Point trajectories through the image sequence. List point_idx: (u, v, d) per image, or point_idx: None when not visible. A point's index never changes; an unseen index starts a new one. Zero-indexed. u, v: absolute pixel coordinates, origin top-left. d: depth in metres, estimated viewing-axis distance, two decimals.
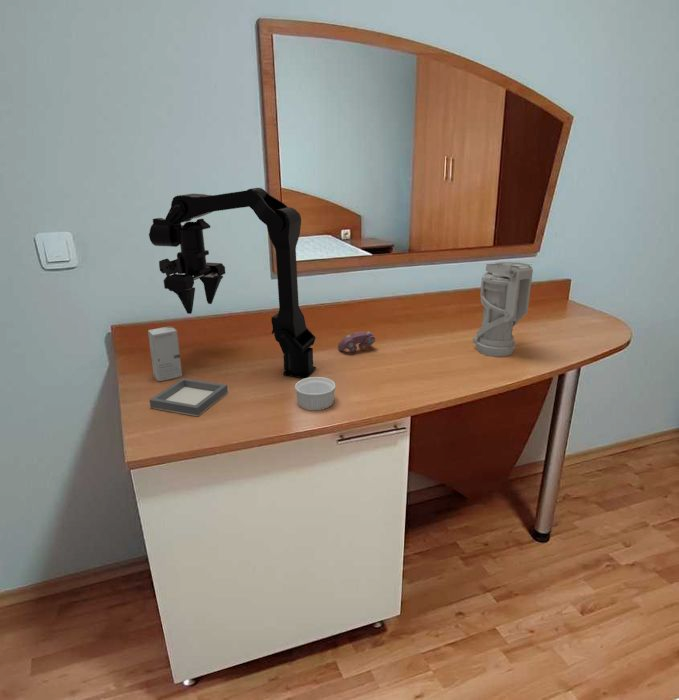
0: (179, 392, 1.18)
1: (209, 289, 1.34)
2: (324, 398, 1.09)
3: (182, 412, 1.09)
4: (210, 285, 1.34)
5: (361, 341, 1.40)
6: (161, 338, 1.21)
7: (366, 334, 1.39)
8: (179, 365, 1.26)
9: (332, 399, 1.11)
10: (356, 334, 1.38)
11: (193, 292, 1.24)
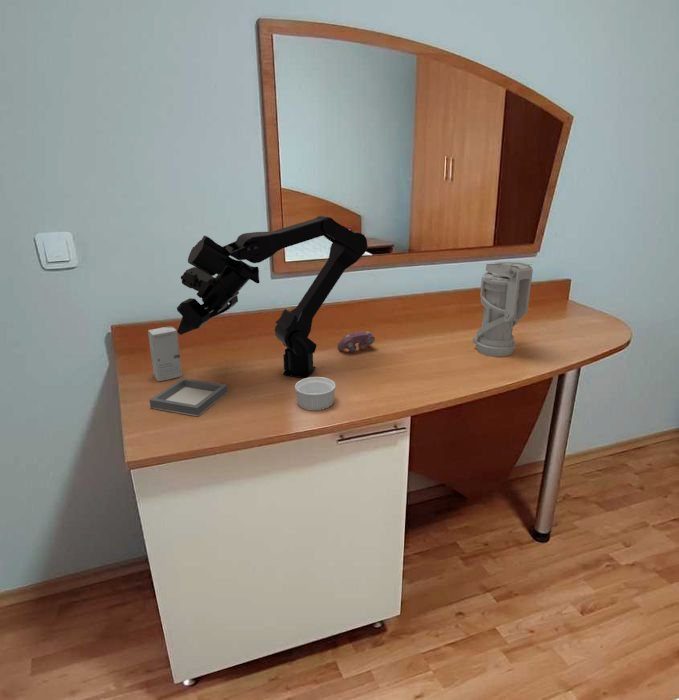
0: (179, 392, 1.18)
1: (209, 311, 1.23)
2: (324, 398, 1.09)
3: (182, 412, 1.09)
4: (213, 309, 1.23)
5: (361, 341, 1.40)
6: (161, 338, 1.21)
7: (365, 334, 1.40)
8: (179, 365, 1.26)
9: (332, 399, 1.11)
10: (356, 334, 1.39)
11: None
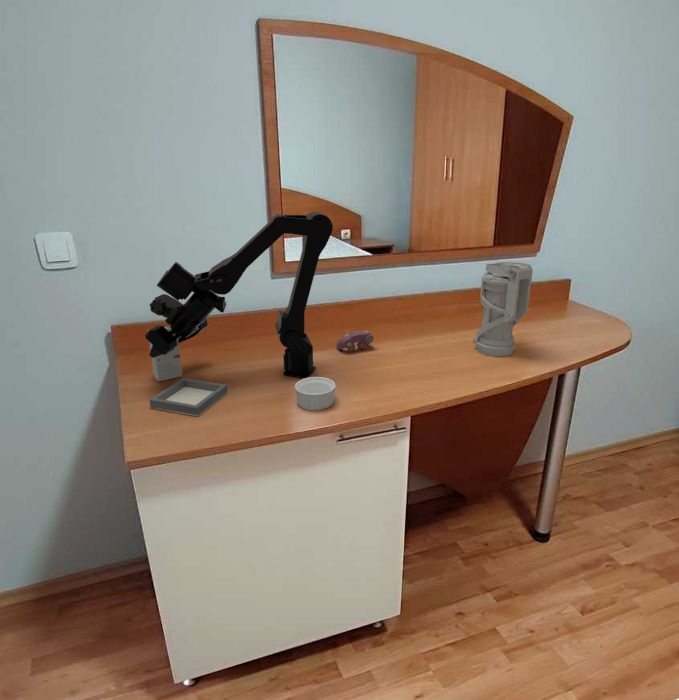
0: (179, 392, 1.18)
1: None
2: (324, 398, 1.09)
3: (182, 412, 1.09)
4: None
5: (360, 340, 1.41)
6: None
7: (364, 333, 1.40)
8: (179, 365, 1.26)
9: (332, 399, 1.11)
10: (354, 333, 1.39)
11: None
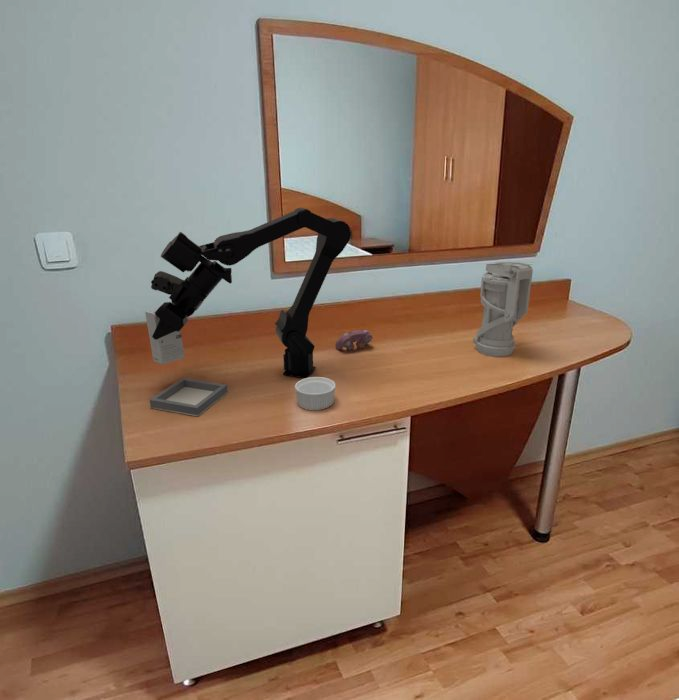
0: (179, 392, 1.18)
1: None
2: (324, 398, 1.09)
3: (182, 412, 1.09)
4: None
5: (359, 339, 1.42)
6: None
7: (363, 332, 1.41)
8: (181, 345, 1.20)
9: (332, 399, 1.11)
10: (353, 332, 1.40)
11: None
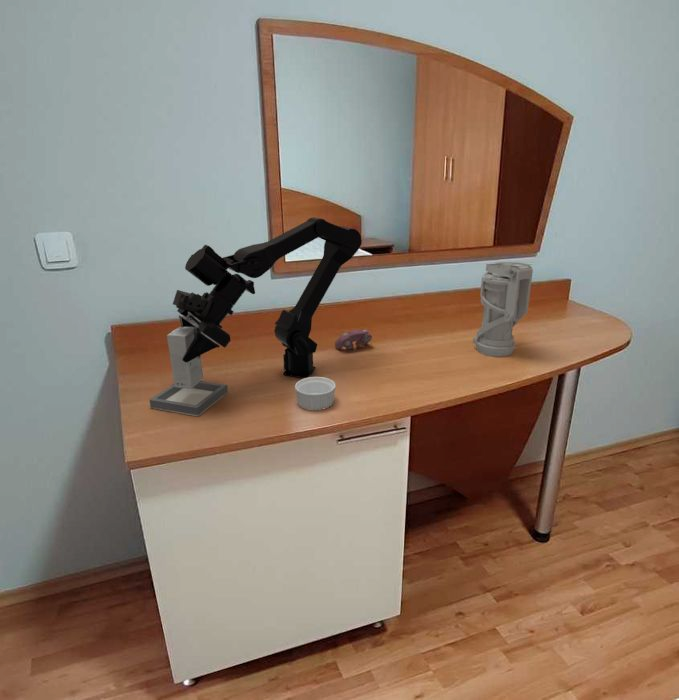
0: (179, 392, 1.18)
1: None
2: (324, 398, 1.09)
3: (182, 412, 1.09)
4: None
5: (358, 339, 1.42)
6: (189, 338, 1.08)
7: (363, 332, 1.41)
8: (201, 365, 1.14)
9: (332, 399, 1.11)
10: (353, 332, 1.40)
11: None
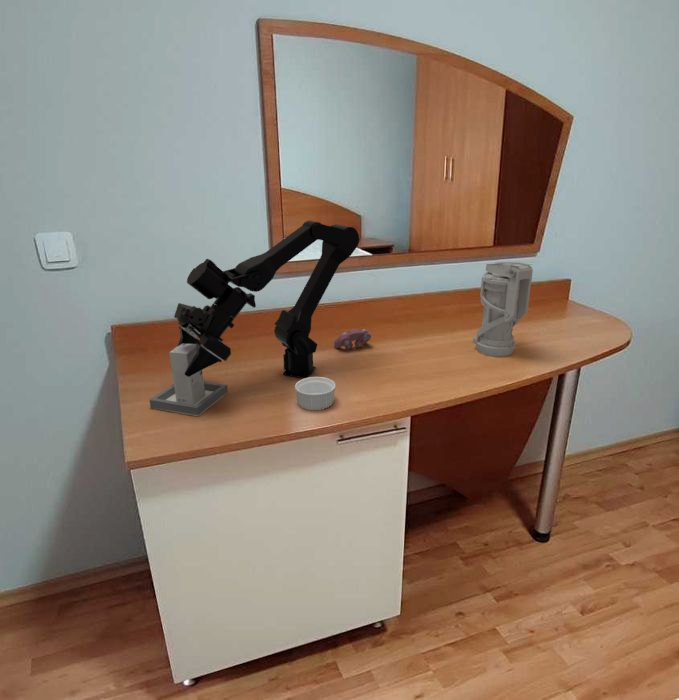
0: None
1: None
2: (323, 398, 1.09)
3: (182, 412, 1.09)
4: None
5: (357, 338, 1.42)
6: (191, 355, 1.10)
7: (362, 331, 1.41)
8: (203, 382, 1.16)
9: (332, 399, 1.11)
10: (352, 331, 1.41)
11: None
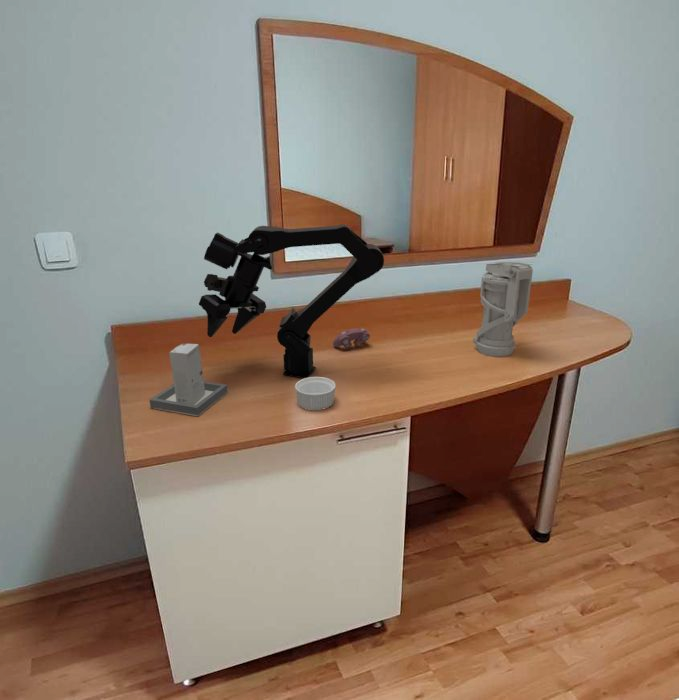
0: None
1: (240, 320, 1.28)
2: (323, 398, 1.09)
3: (182, 412, 1.09)
4: (243, 317, 1.27)
5: (356, 338, 1.43)
6: (191, 355, 1.10)
7: (361, 331, 1.42)
8: (203, 382, 1.16)
9: (332, 399, 1.11)
10: (351, 331, 1.41)
11: (223, 320, 1.17)
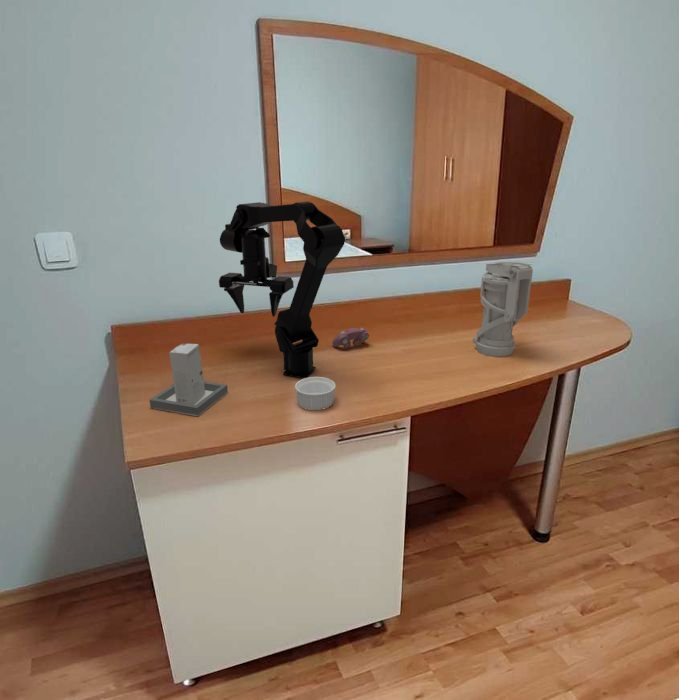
0: None
1: None
2: (323, 398, 1.09)
3: (182, 412, 1.09)
4: None
5: (355, 337, 1.43)
6: (191, 355, 1.10)
7: (360, 330, 1.42)
8: (203, 382, 1.16)
9: (332, 399, 1.11)
10: (350, 330, 1.41)
11: (231, 293, 1.31)
